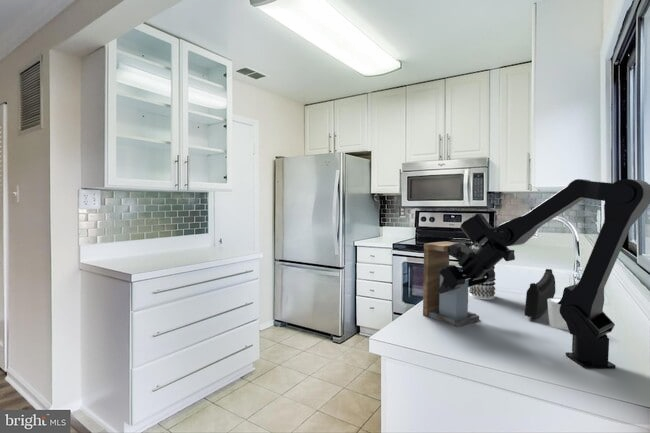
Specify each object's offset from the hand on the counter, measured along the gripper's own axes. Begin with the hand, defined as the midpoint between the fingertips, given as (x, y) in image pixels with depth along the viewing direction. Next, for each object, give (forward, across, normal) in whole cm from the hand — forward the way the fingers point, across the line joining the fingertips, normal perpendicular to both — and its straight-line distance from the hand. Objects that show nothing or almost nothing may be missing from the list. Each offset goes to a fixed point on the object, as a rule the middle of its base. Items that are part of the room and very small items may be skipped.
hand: (449, 289), depth 106 cm
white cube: (-10, -19, +21) cm, 30 cm away
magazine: (-2, -31, +14) cm, 34 cm away
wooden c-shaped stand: (+5, 0, +7) cm, 8 cm away
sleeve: (+5, 0, +7) cm, 8 cm away
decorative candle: (+11, -29, 0) cm, 31 cm away
